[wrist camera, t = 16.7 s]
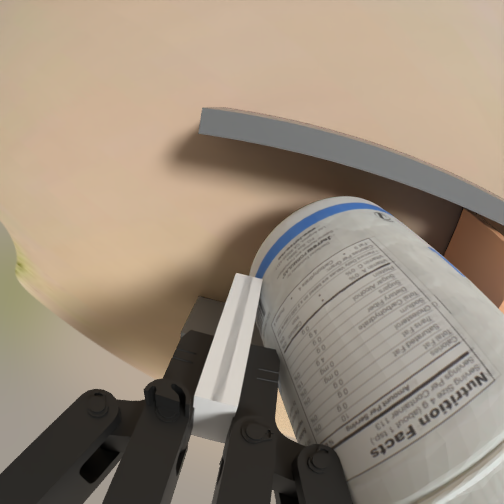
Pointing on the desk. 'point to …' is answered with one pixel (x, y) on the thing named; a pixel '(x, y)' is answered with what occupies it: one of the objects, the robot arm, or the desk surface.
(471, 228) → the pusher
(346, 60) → the desk surface
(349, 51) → the desk surface
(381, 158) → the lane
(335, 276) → the supplement tub
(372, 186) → the desk surface
